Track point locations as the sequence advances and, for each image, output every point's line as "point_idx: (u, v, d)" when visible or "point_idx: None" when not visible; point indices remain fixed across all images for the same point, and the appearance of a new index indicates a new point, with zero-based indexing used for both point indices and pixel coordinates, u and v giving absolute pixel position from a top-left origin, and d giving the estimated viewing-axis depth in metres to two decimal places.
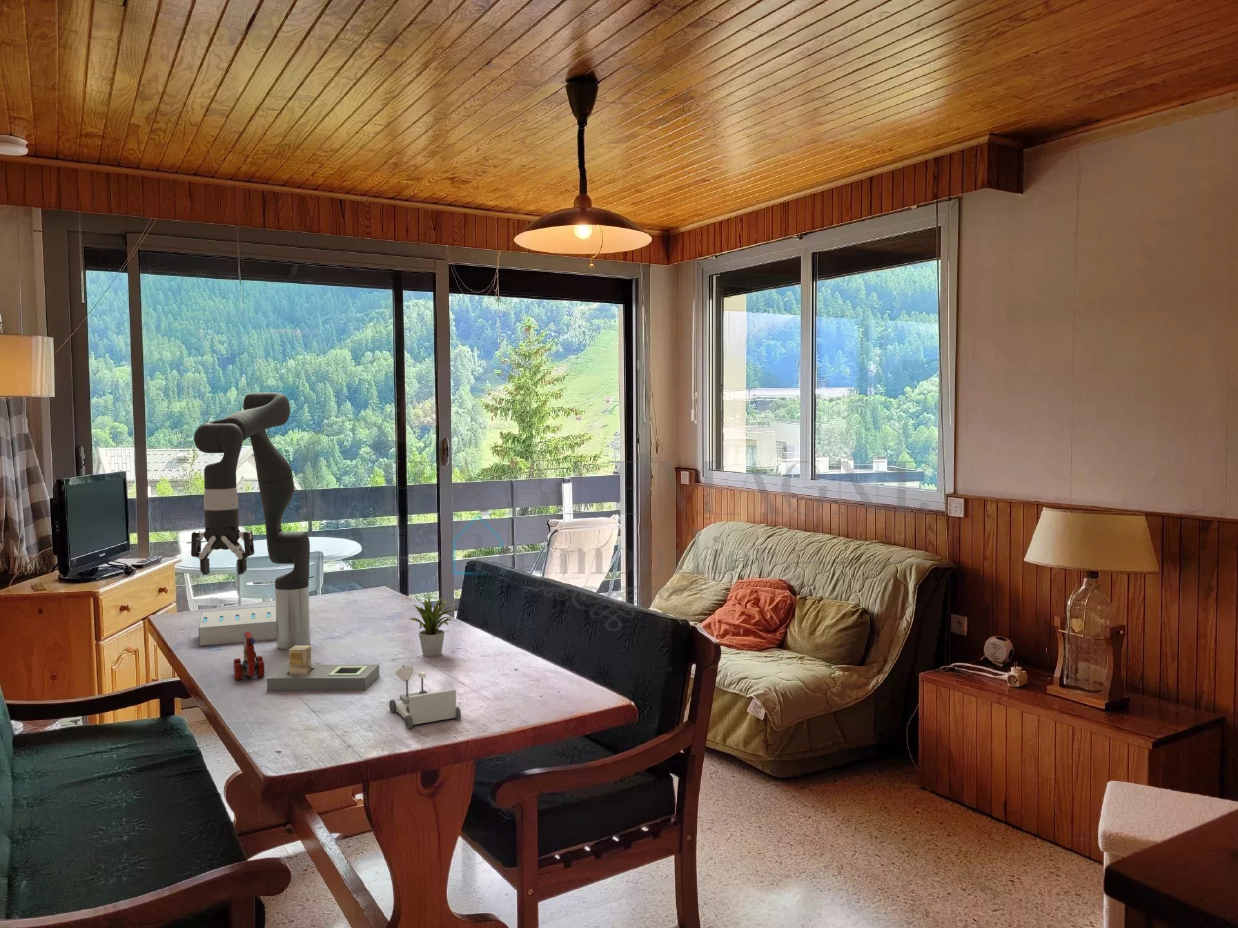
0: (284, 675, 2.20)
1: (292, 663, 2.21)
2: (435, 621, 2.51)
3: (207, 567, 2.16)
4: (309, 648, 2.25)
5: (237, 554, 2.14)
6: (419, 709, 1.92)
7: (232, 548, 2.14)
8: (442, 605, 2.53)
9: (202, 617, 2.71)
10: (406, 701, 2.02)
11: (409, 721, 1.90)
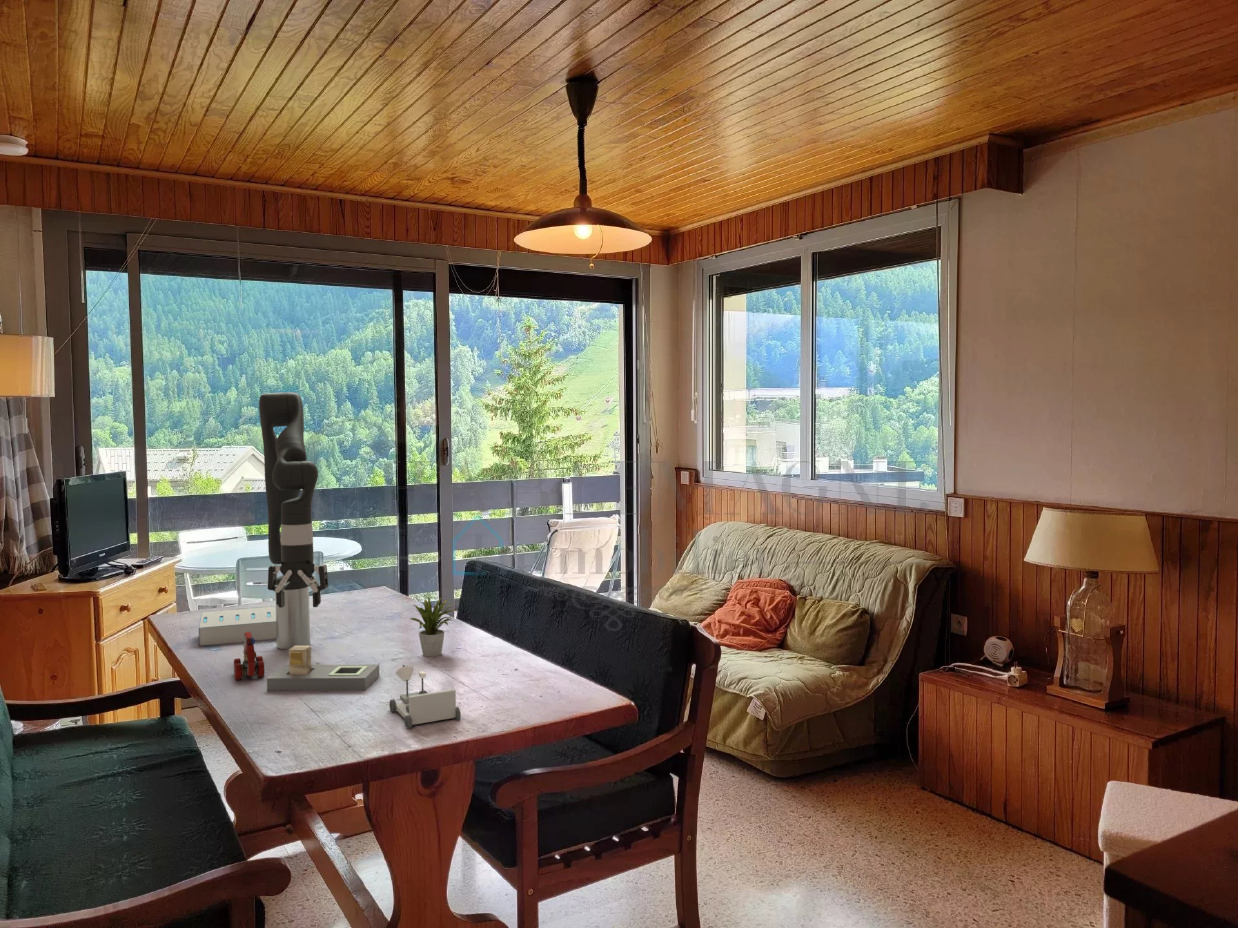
0: (284, 675, 2.20)
1: (292, 663, 2.21)
2: (435, 621, 2.51)
3: (283, 600, 2.23)
4: (309, 648, 2.25)
5: (312, 587, 2.22)
6: (419, 709, 1.92)
7: (308, 582, 2.21)
8: (442, 605, 2.53)
9: (202, 617, 2.71)
10: (406, 701, 2.02)
11: (408, 721, 1.90)
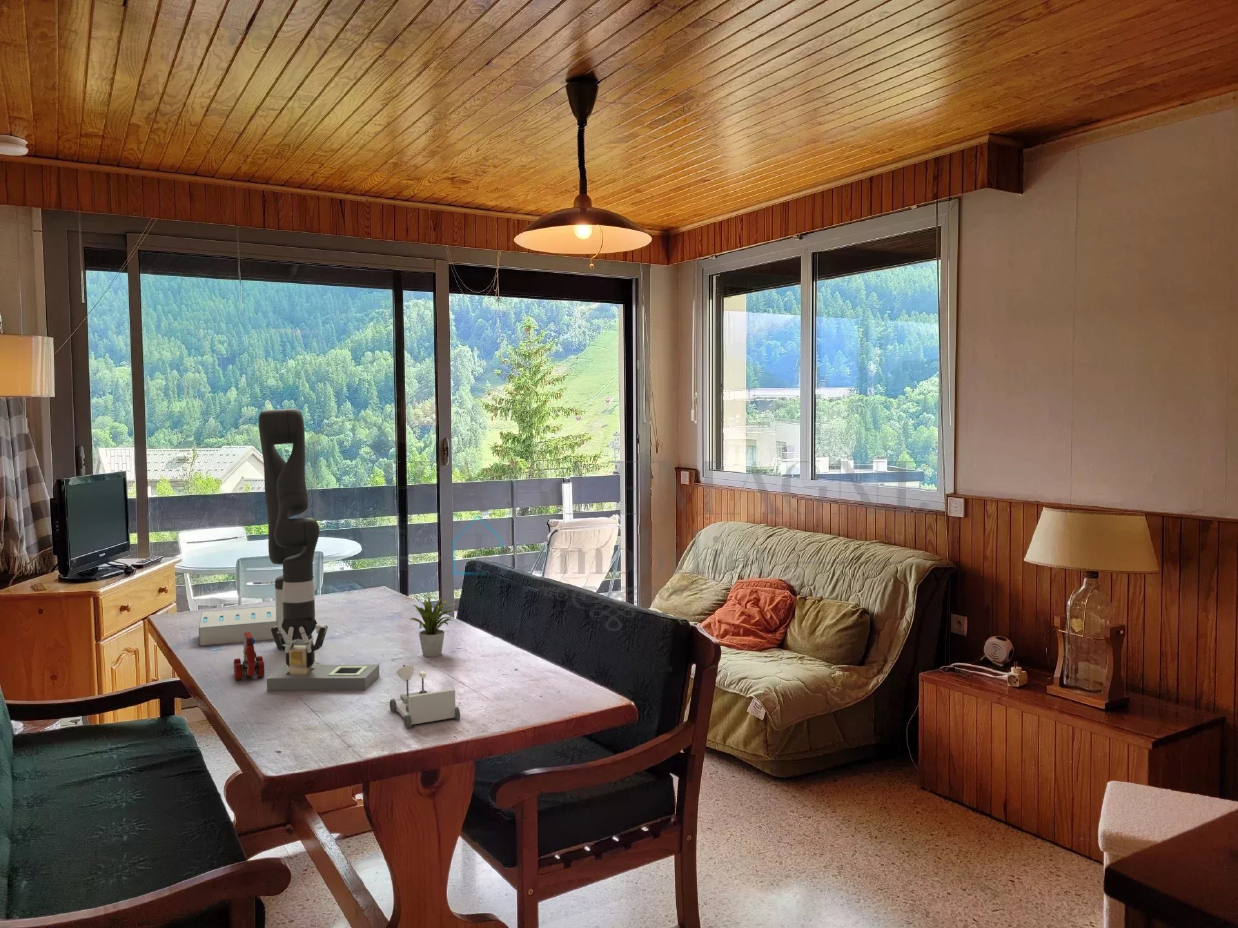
0: (284, 675, 2.20)
1: (292, 663, 2.21)
2: (435, 621, 2.51)
3: None
4: None
5: (307, 647, 2.22)
6: (418, 709, 1.92)
7: (305, 640, 2.22)
8: (442, 605, 2.53)
9: (202, 617, 2.71)
10: (406, 701, 2.02)
11: (408, 721, 1.90)
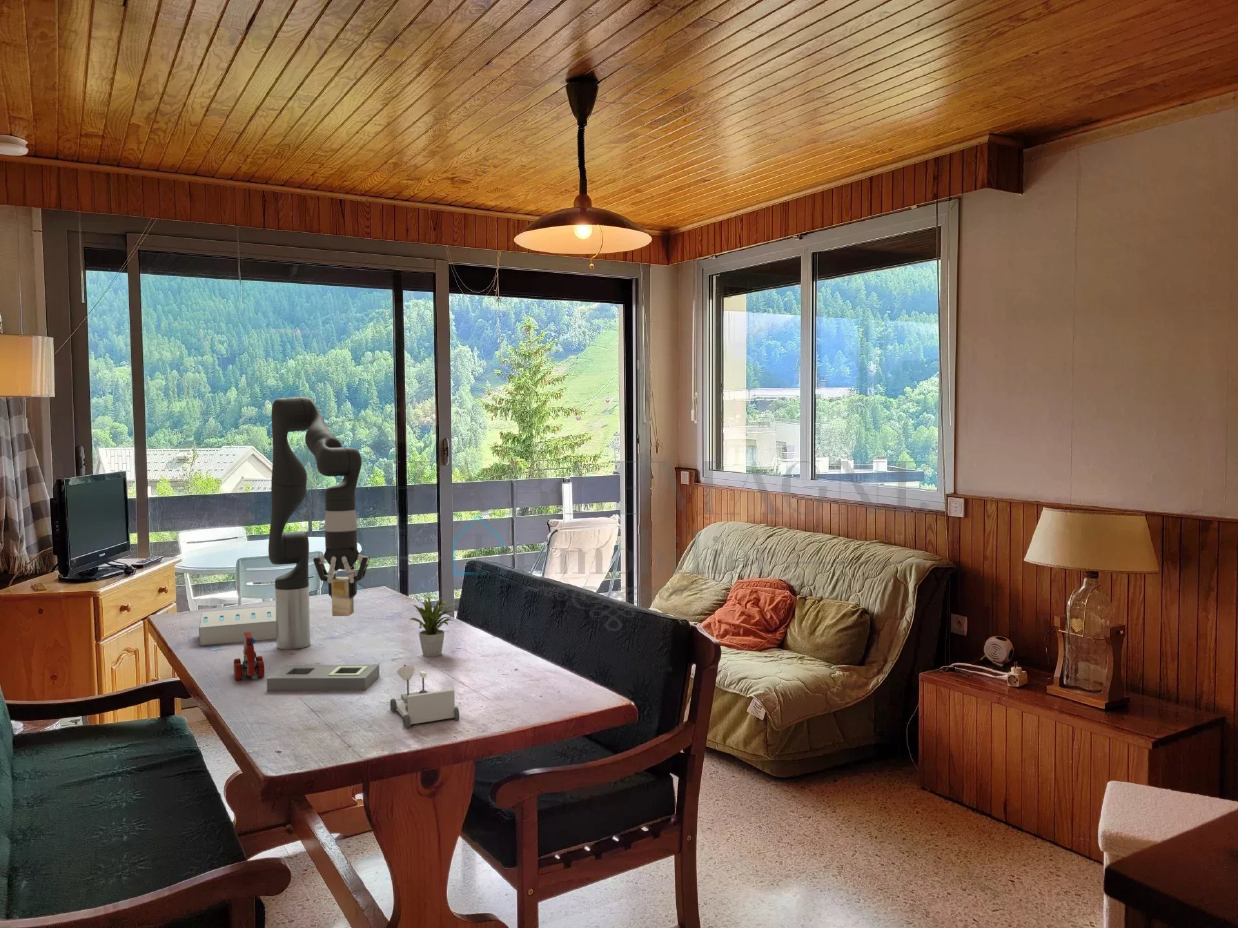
0: (284, 675, 2.20)
1: (335, 593, 2.19)
2: (435, 621, 2.51)
3: None
4: None
5: (349, 577, 2.21)
6: (417, 709, 1.92)
7: (348, 570, 2.20)
8: (442, 605, 2.53)
9: (202, 617, 2.71)
10: (406, 700, 2.03)
11: (407, 720, 1.90)
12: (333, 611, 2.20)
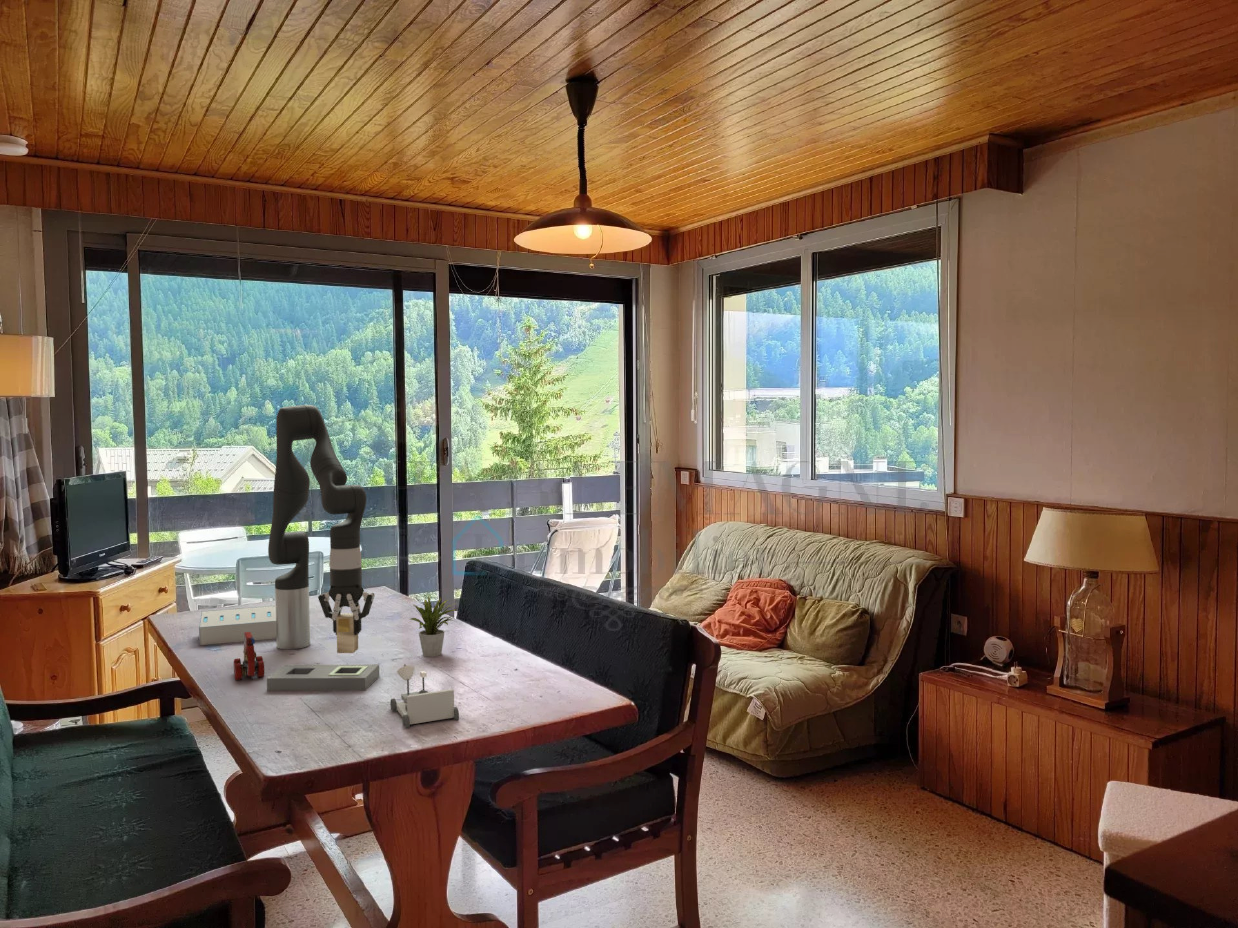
0: (284, 675, 2.20)
1: (340, 630, 2.20)
2: (435, 621, 2.51)
3: None
4: None
5: (354, 614, 2.22)
6: (417, 709, 1.92)
7: (352, 608, 2.21)
8: (442, 605, 2.53)
9: (202, 617, 2.71)
10: (406, 700, 2.03)
11: (406, 721, 1.90)
12: (338, 648, 2.21)
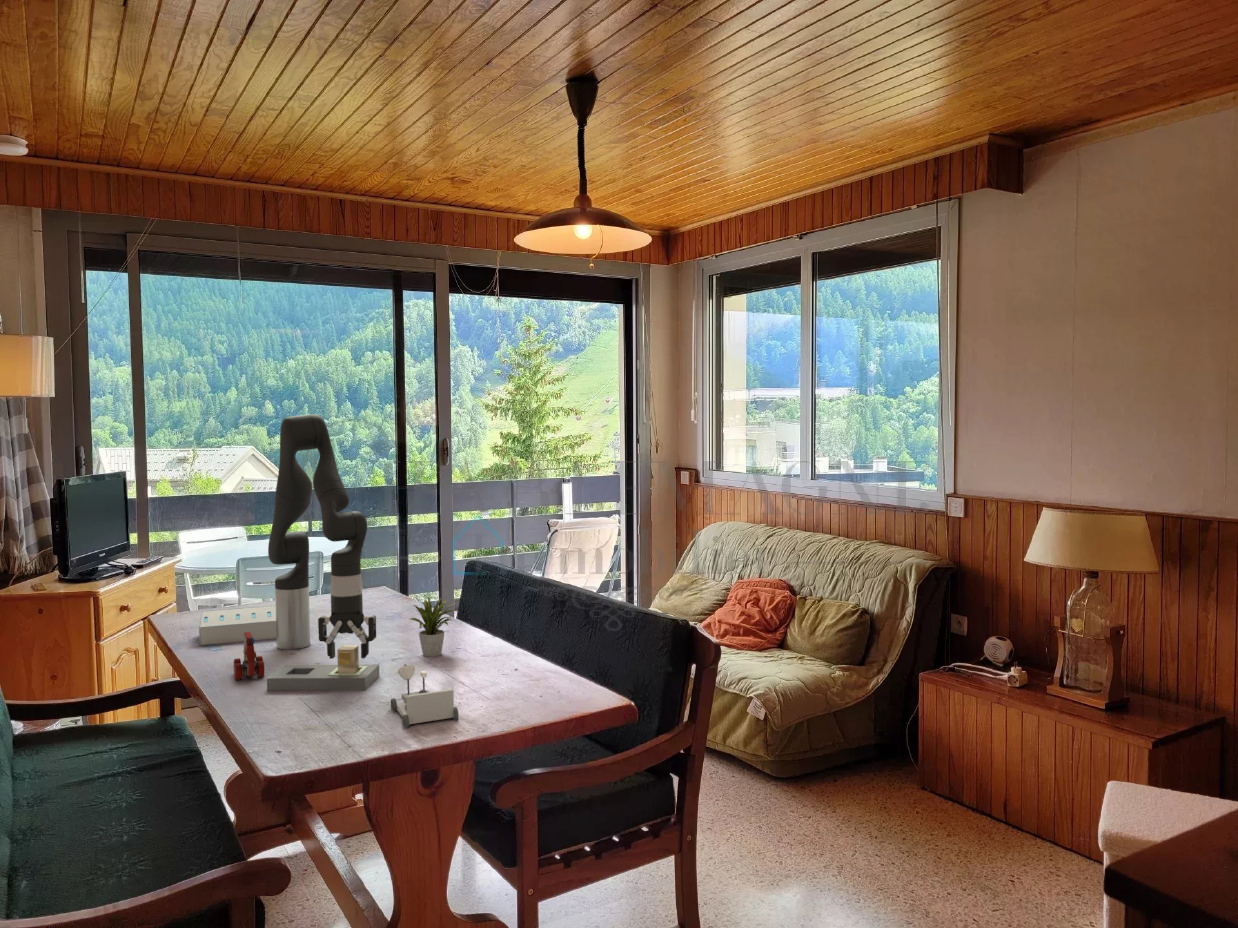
0: (284, 675, 2.20)
1: (341, 663, 2.21)
2: (435, 621, 2.51)
3: (333, 651, 2.24)
4: (357, 648, 2.24)
5: (361, 638, 2.22)
6: (416, 709, 1.92)
7: (357, 633, 2.21)
8: (442, 605, 2.53)
9: (202, 617, 2.71)
10: (407, 700, 2.03)
11: (405, 720, 1.91)
12: None
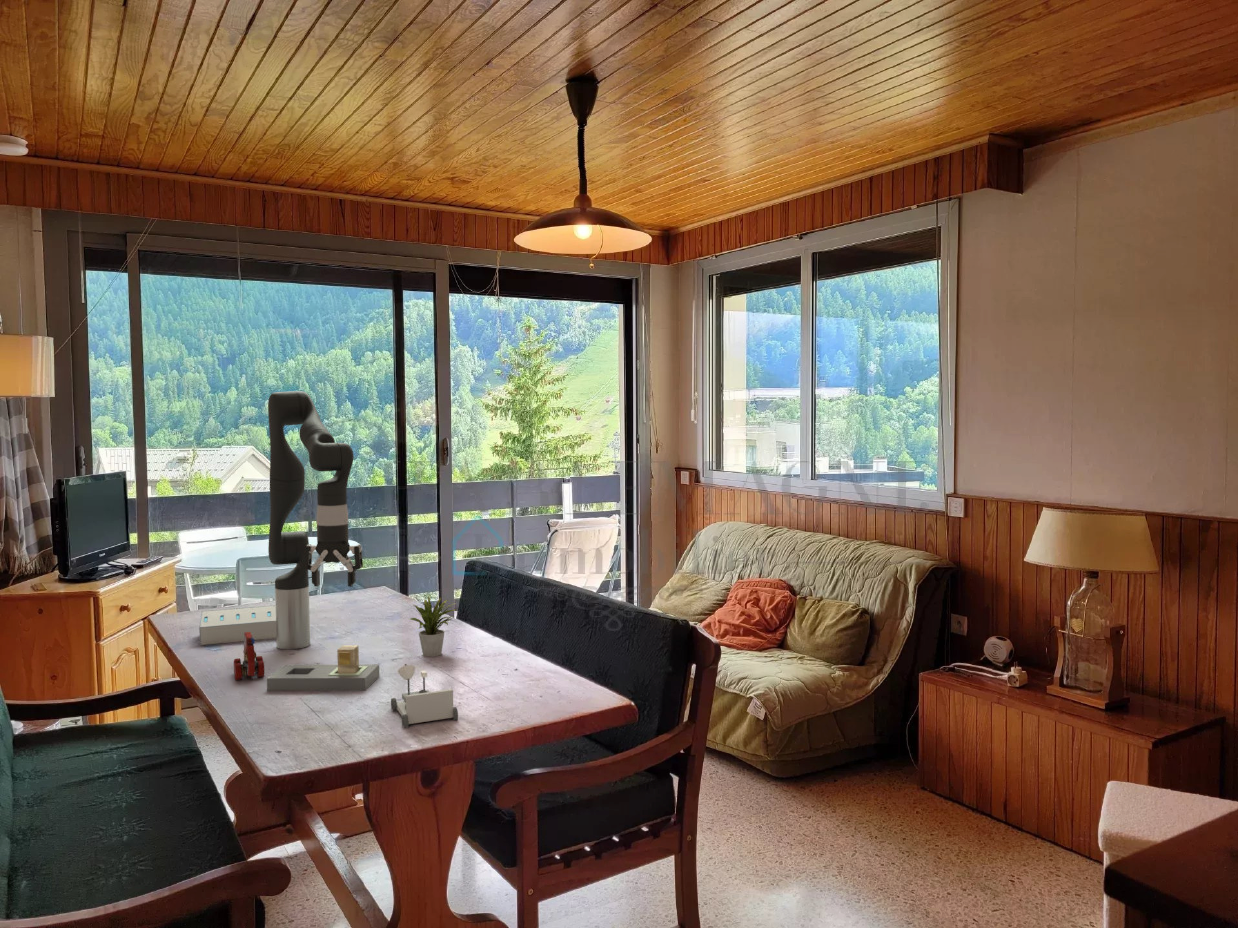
0: (284, 675, 2.20)
1: (341, 663, 2.21)
2: (435, 621, 2.51)
3: (318, 579, 2.27)
4: (357, 648, 2.24)
5: (348, 567, 2.25)
6: (416, 708, 1.92)
7: (343, 561, 2.25)
8: (442, 605, 2.53)
9: (203, 616, 2.72)
10: None
11: (405, 720, 1.91)
12: None
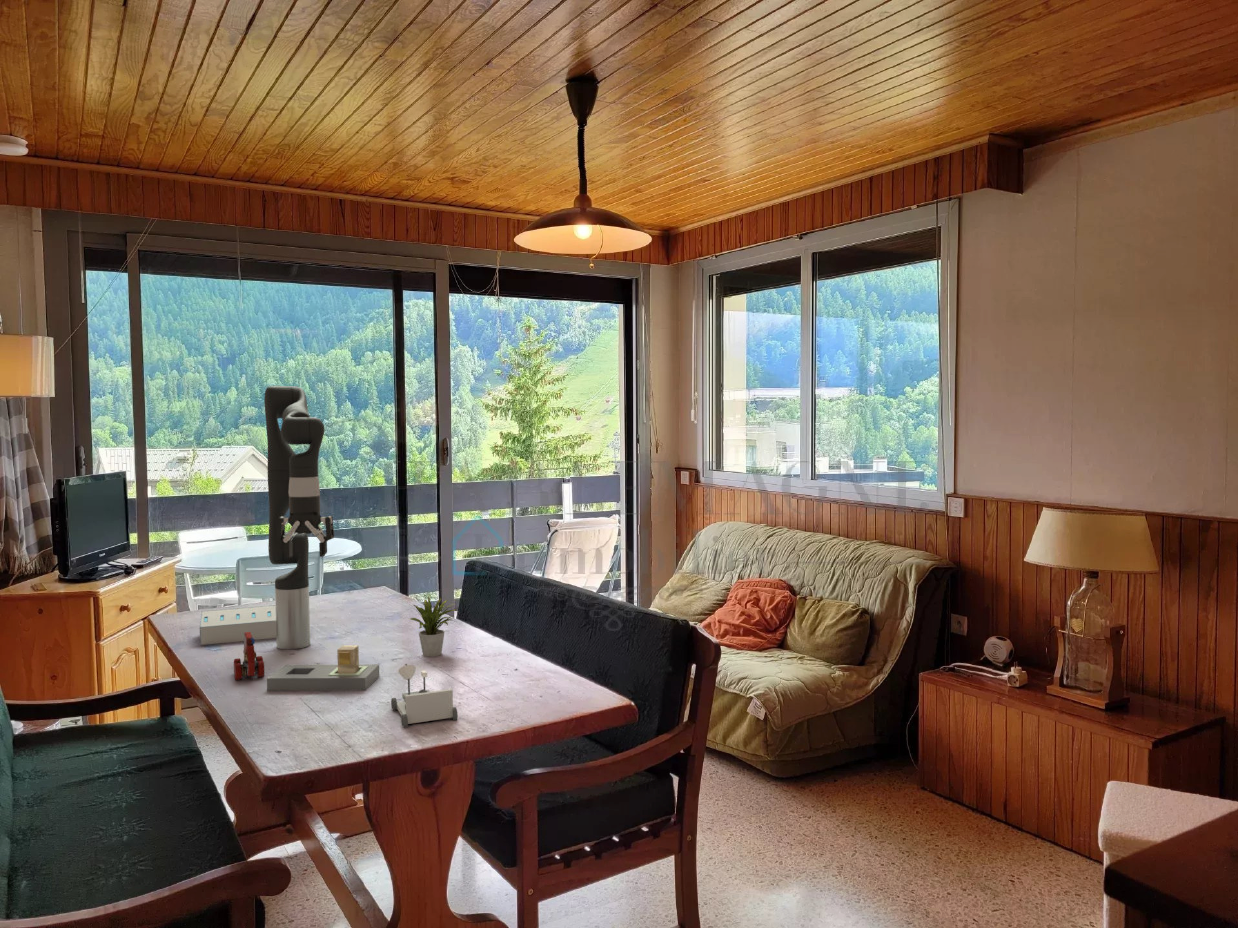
0: (284, 675, 2.20)
1: (341, 663, 2.21)
2: (435, 621, 2.51)
3: (291, 550, 2.34)
4: (357, 648, 2.24)
5: (319, 538, 2.32)
6: (415, 708, 1.92)
7: (315, 532, 2.31)
8: (442, 605, 2.53)
9: (203, 616, 2.72)
10: None
11: (404, 720, 1.91)
12: None
